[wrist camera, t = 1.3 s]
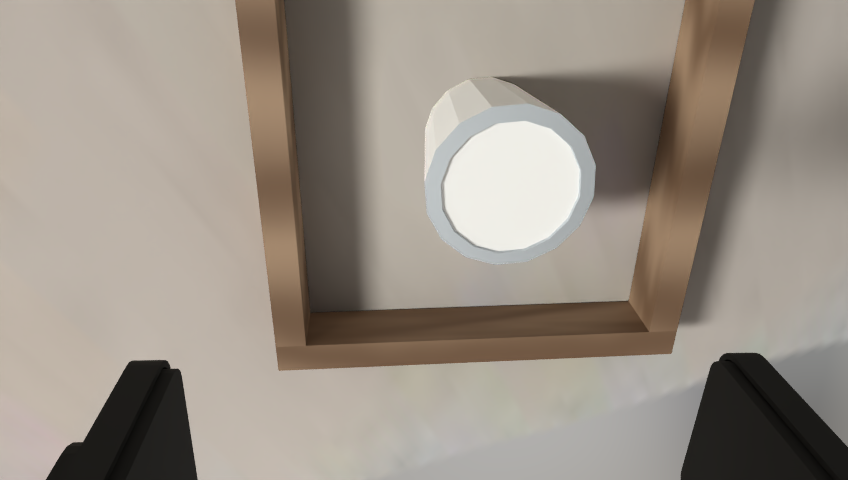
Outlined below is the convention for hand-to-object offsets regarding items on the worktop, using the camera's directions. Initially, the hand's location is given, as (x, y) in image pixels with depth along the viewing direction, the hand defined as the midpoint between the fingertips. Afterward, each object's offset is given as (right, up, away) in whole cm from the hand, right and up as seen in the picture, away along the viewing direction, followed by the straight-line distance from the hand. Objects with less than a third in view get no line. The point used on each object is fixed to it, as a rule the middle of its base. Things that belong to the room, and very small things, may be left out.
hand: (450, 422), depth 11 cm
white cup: (+2, +8, +20) cm, 22 cm away
